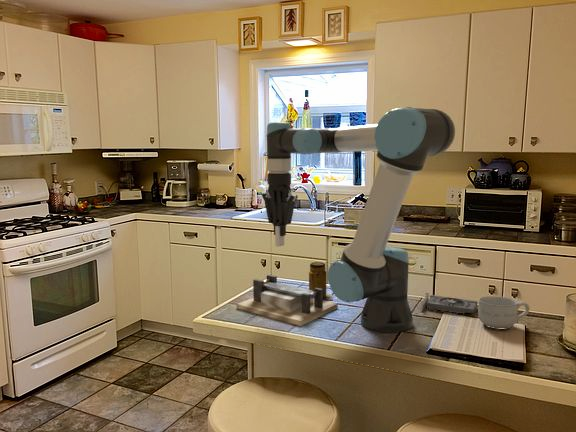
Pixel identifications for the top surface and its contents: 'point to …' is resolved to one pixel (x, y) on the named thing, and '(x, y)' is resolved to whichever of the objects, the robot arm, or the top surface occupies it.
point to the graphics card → (448, 304)
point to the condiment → (318, 278)
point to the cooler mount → (286, 304)
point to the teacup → (500, 311)
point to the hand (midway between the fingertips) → (279, 245)
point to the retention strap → (288, 289)
